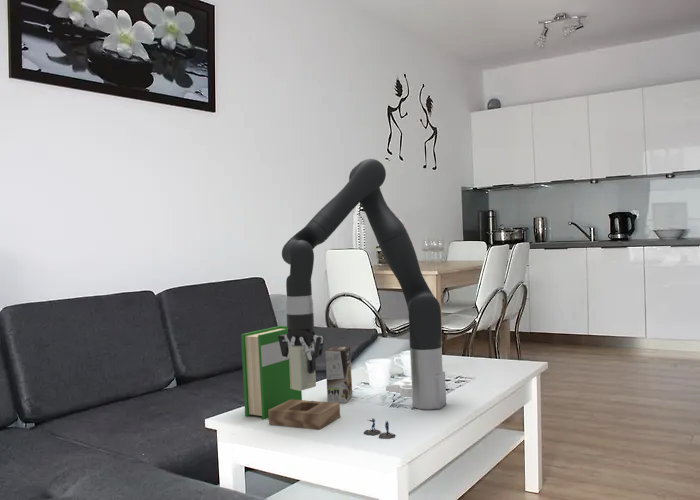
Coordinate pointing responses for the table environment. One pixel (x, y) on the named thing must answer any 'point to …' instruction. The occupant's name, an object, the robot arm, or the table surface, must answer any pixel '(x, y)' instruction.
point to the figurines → (382, 435)
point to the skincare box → (300, 369)
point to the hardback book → (265, 372)
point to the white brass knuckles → (401, 387)
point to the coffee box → (338, 374)
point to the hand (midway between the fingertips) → (302, 372)
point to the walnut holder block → (304, 414)
